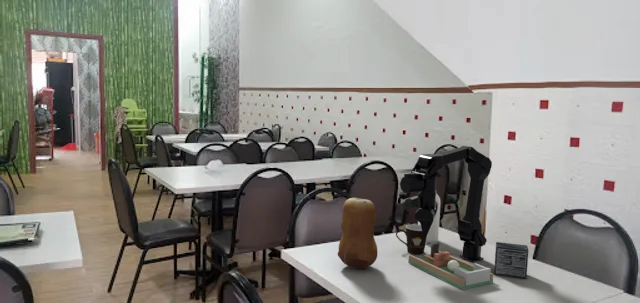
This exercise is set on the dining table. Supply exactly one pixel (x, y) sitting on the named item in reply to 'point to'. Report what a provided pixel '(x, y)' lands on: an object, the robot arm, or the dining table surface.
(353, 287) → the dining table surface
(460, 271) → the tray
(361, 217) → the butternut squash
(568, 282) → the dining table surface
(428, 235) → the alcohol
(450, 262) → the ball
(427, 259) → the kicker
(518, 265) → the small box
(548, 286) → the dining table surface
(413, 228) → the coffee mug
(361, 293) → the dining table surface
